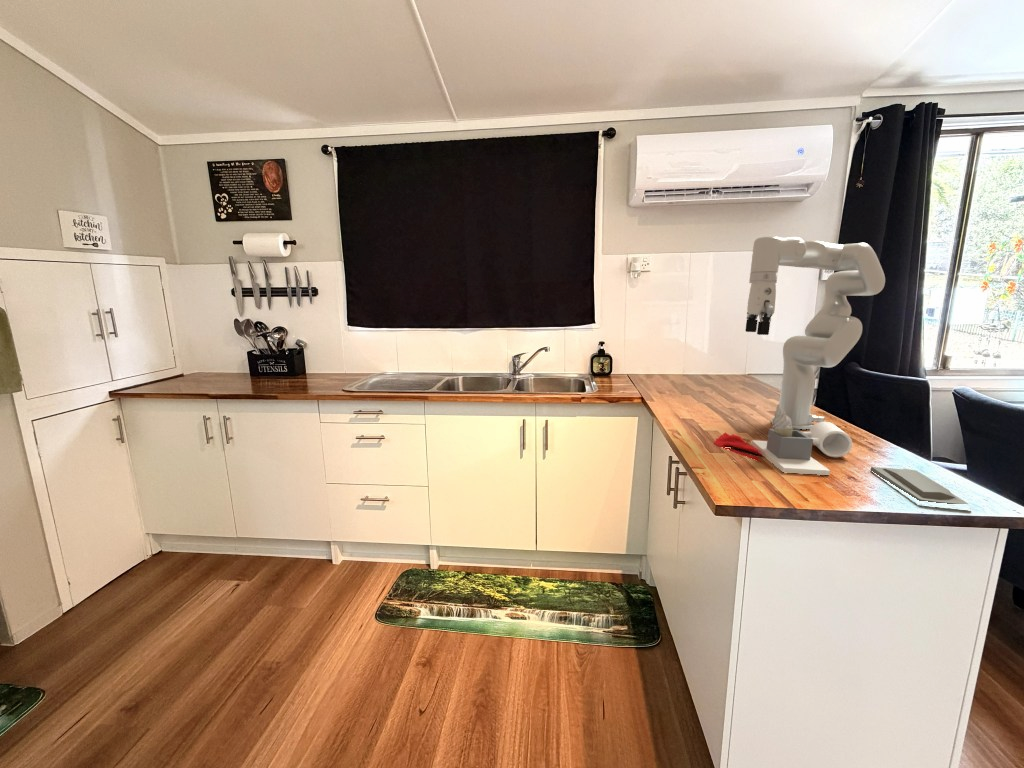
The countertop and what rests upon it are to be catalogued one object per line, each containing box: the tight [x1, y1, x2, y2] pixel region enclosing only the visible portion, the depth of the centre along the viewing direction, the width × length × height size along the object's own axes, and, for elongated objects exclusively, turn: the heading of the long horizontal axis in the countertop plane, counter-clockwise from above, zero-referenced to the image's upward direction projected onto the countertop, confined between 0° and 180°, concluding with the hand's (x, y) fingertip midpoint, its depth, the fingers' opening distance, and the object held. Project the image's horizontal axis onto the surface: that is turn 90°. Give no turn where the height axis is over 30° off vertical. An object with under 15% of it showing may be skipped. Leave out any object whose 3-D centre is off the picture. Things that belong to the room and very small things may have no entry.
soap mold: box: [870, 466, 969, 504], centre depth 106 cm, size 10×20×4 cm, turn 165°
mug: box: [802, 421, 853, 458], centre depth 131 cm, size 12×10×8 cm
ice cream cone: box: [771, 403, 794, 437], centre depth 124 cm, size 5×5×15 cm
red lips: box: [713, 432, 764, 463], centre depth 136 cm, size 26×14×2 cm, turn 162°
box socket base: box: [750, 428, 831, 476], centre depth 124 cm, size 11×22×8 cm, turn 172°
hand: (756, 333), depth 142 cm, fingers open, 9 cm apart
